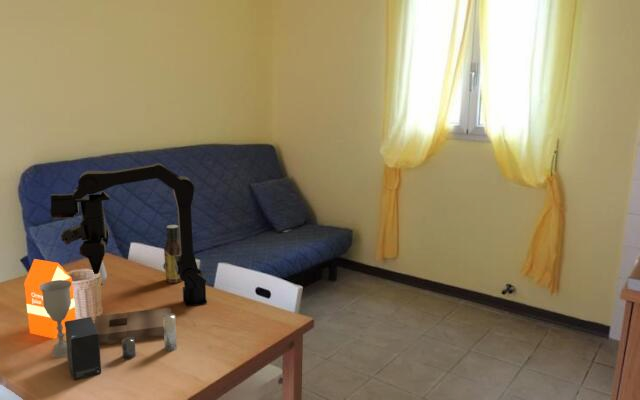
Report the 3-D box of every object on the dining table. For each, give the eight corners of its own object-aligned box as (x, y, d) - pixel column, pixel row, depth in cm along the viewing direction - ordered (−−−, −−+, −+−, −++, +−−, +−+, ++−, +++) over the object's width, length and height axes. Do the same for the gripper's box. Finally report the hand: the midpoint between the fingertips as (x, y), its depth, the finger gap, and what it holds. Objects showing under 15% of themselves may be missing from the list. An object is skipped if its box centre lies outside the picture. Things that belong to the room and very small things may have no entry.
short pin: (135, 352, 127) (134, 336, 126) (135, 358, 124) (134, 341, 124) (123, 354, 126) (121, 337, 125) (122, 360, 123) (121, 343, 123)
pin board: (170, 316, 147) (170, 307, 147) (173, 335, 136) (172, 325, 136) (96, 325, 141) (95, 316, 140) (92, 346, 130) (92, 335, 129)
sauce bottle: (167, 277, 178) (165, 223, 174) (185, 277, 179) (183, 223, 174) (163, 284, 172) (160, 228, 167) (182, 284, 172) (180, 228, 168)
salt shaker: (110, 280, 174) (108, 244, 171) (102, 286, 168) (99, 249, 166) (94, 279, 175) (91, 243, 172) (85, 285, 169) (82, 249, 166)
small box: (103, 373, 118) (100, 332, 115) (72, 381, 114) (68, 339, 112) (95, 353, 126) (92, 315, 124) (66, 360, 123) (62, 321, 121)
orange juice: (52, 321, 143) (46, 254, 139) (77, 326, 140) (70, 258, 136) (29, 333, 136) (21, 263, 132) (54, 339, 133) (46, 267, 129)
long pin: (176, 344, 131) (174, 312, 129) (177, 350, 129) (175, 317, 127) (164, 346, 130) (162, 314, 129) (164, 351, 128) (163, 319, 126)
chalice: (84, 348, 129) (78, 282, 125) (62, 361, 122) (55, 292, 118) (61, 343, 131) (55, 278, 127) (39, 356, 125) (32, 288, 121)
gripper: (66, 210, 148) (71, 260, 151) (55, 226, 131) (61, 282, 134) (107, 207, 151) (111, 257, 155) (102, 223, 134) (106, 278, 137)
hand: (97, 268), depth 145 cm, fingers open, 9 cm apart
